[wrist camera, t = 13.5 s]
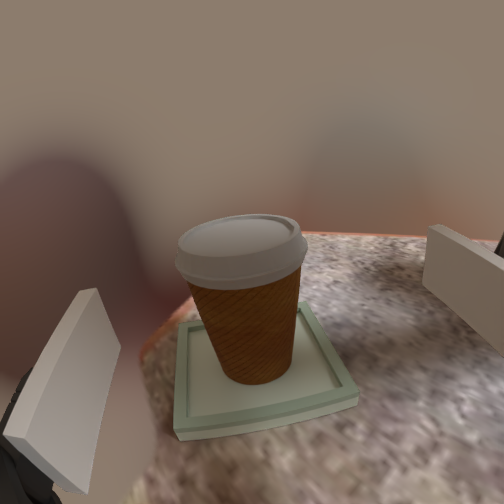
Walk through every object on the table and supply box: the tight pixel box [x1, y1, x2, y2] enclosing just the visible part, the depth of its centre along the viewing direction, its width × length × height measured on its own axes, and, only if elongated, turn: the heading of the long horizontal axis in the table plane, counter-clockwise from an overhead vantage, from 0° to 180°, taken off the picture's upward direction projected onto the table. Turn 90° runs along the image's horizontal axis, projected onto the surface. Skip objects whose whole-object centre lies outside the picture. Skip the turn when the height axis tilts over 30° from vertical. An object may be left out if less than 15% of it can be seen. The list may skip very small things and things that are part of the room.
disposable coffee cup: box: [175, 214, 308, 385], centre depth 24 cm, size 10×10×12 cm
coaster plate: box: [173, 301, 360, 441], centre depth 26 cm, size 14×14×2 cm
